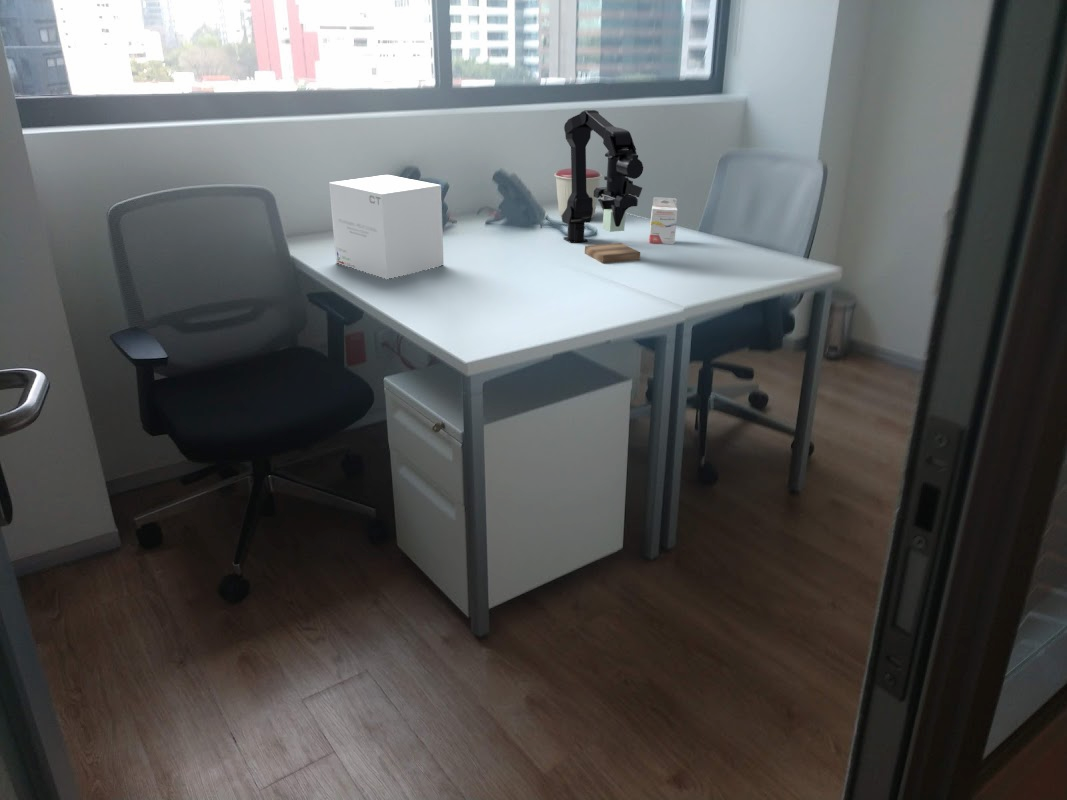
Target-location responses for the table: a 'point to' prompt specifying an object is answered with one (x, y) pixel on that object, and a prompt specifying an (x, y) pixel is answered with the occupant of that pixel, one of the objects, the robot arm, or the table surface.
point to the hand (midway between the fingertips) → (613, 224)
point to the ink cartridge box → (663, 221)
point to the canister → (566, 187)
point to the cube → (387, 225)
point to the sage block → (612, 221)
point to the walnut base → (612, 253)
